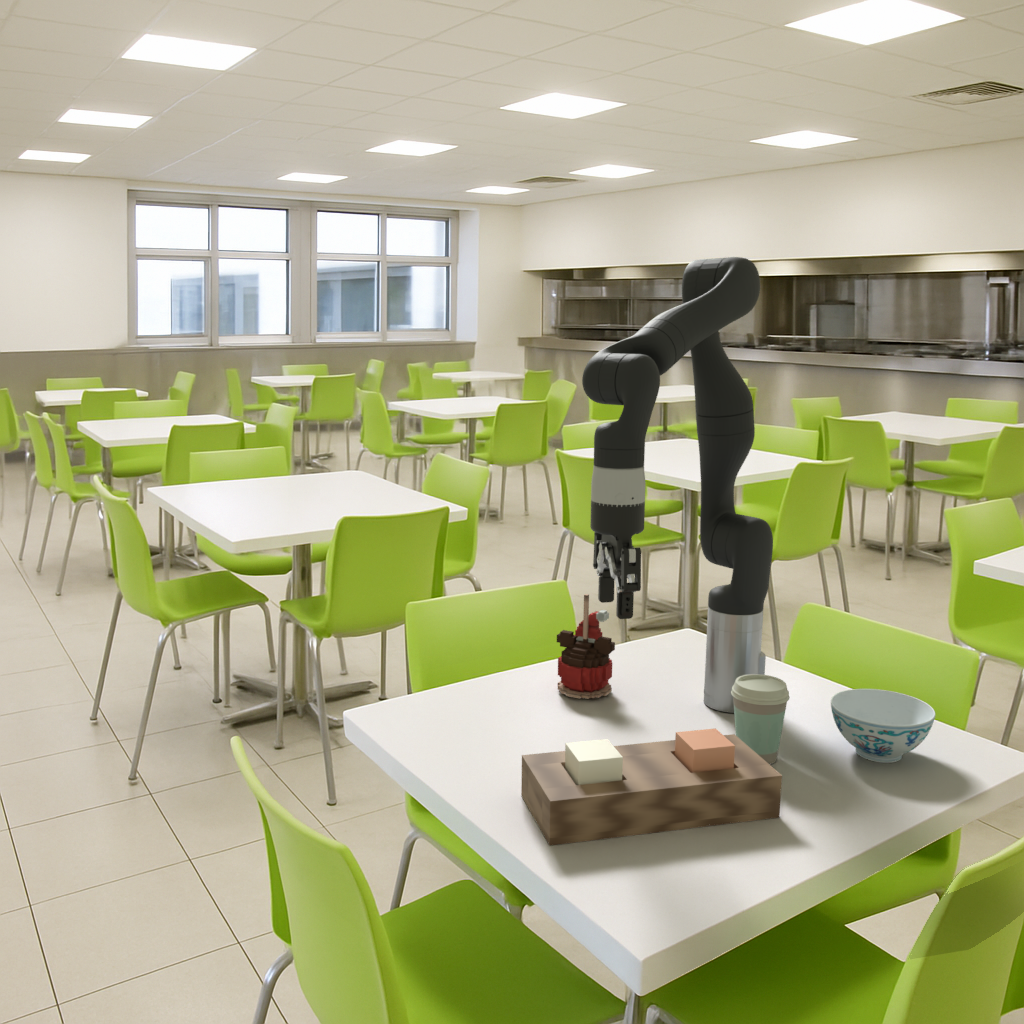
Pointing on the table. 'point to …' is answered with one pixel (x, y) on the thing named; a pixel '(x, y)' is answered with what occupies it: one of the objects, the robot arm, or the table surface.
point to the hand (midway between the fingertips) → (615, 609)
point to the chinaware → (881, 722)
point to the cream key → (593, 762)
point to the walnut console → (648, 794)
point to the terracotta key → (704, 750)
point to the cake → (586, 657)
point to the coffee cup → (760, 712)
